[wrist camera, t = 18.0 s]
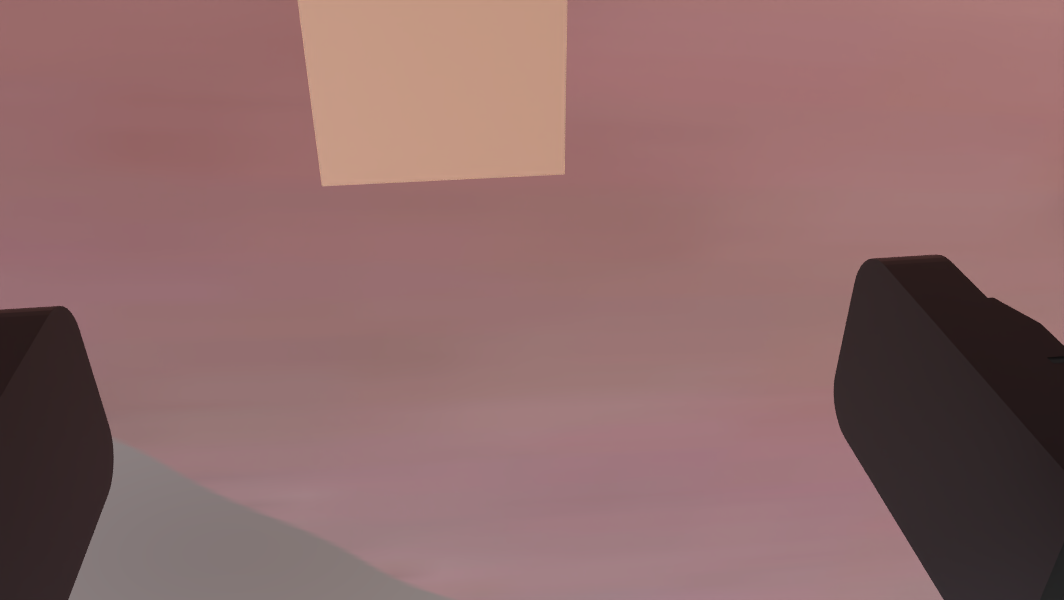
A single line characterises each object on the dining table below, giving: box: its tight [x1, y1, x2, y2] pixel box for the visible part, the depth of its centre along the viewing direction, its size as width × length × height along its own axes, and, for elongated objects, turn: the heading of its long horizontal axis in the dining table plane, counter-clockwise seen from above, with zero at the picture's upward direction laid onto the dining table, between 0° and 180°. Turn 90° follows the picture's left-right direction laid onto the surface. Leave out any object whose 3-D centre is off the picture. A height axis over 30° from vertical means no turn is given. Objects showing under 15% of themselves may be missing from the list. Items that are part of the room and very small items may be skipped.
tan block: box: [298, 0, 567, 186], centre depth 20 cm, size 5×5×5 cm
